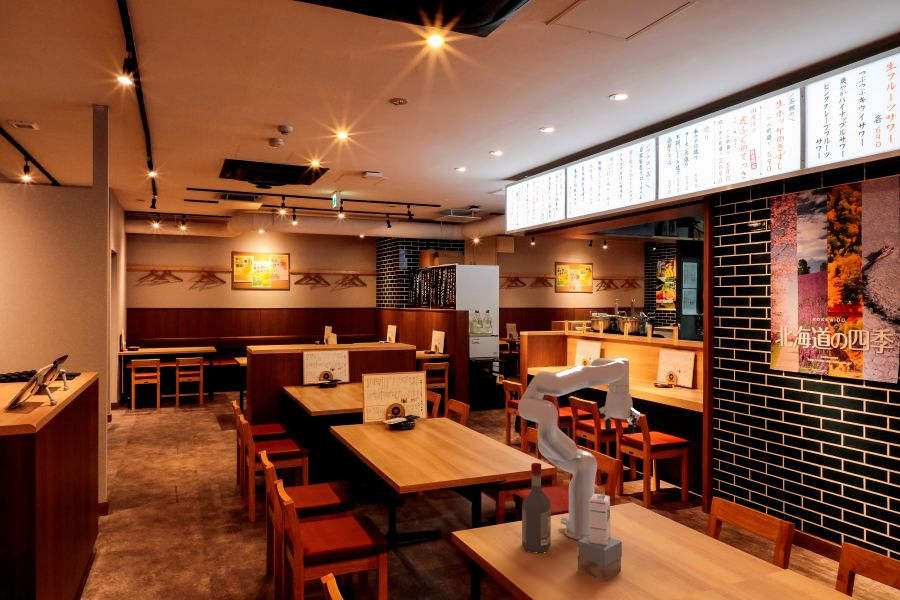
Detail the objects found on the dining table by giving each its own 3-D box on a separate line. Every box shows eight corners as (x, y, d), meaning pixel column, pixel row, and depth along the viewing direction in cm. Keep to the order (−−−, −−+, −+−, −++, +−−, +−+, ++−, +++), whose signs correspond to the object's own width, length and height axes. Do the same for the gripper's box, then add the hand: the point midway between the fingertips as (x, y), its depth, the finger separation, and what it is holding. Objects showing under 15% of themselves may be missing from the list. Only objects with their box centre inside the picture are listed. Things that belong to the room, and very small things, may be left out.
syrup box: (607, 545, 186) (607, 501, 186) (589, 542, 189) (589, 498, 188) (610, 538, 192) (610, 495, 191) (592, 535, 194) (592, 492, 194)
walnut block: (577, 571, 190) (577, 555, 190) (594, 561, 197) (594, 547, 197) (604, 581, 183) (604, 565, 183) (620, 571, 190) (620, 556, 190)
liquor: (520, 551, 205) (520, 466, 205) (527, 541, 214) (527, 459, 214) (546, 555, 202) (546, 469, 202) (551, 544, 210) (551, 462, 210)
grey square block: (578, 556, 190) (578, 540, 190) (595, 547, 197) (595, 532, 197) (605, 566, 183) (605, 550, 183) (621, 556, 190) (621, 541, 190)
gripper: (595, 387, 234) (595, 430, 234) (635, 392, 222) (635, 437, 222) (604, 385, 240) (604, 427, 240) (644, 390, 228) (644, 434, 228)
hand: (619, 432), depth 231 cm, fingers open, 9 cm apart
